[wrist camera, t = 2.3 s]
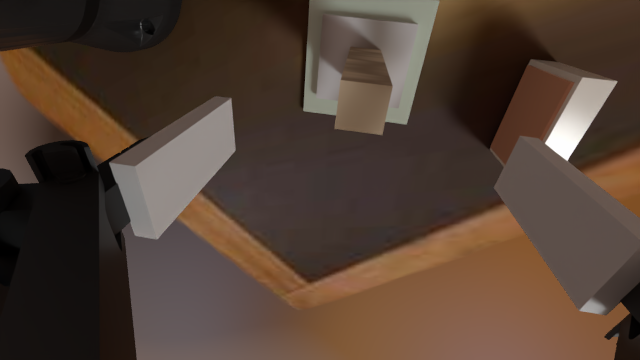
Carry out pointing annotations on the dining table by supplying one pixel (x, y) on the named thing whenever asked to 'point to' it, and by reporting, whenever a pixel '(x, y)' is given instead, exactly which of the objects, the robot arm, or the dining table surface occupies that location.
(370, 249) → the dining table surface
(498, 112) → the dining table surface
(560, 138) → the tile
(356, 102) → the wooden handled stamp
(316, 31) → the mat
